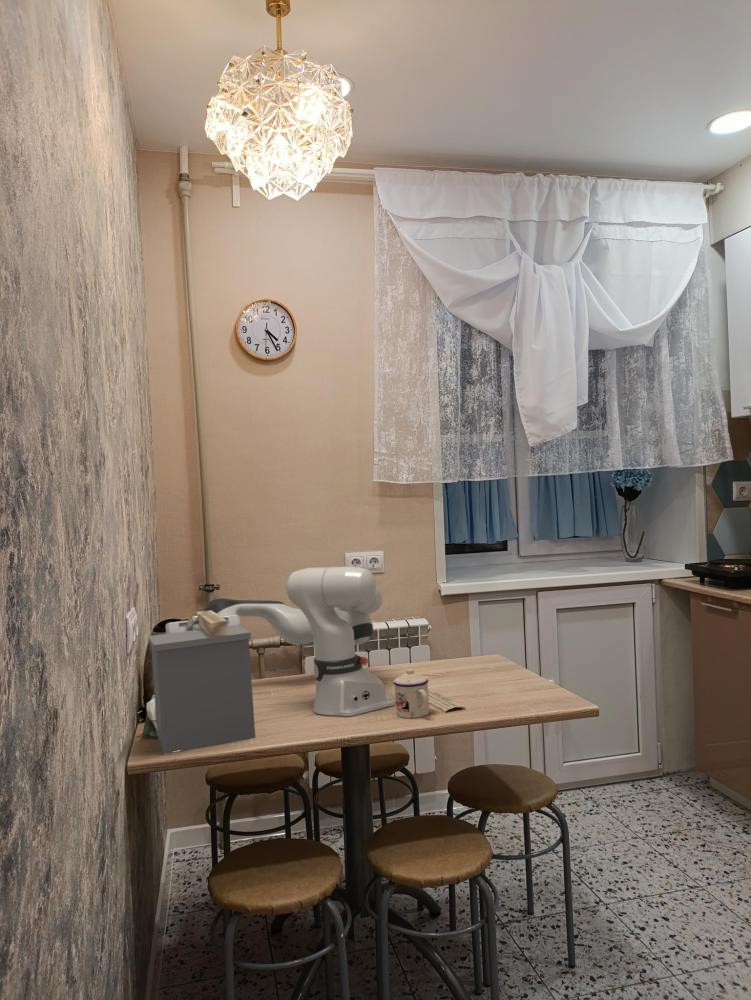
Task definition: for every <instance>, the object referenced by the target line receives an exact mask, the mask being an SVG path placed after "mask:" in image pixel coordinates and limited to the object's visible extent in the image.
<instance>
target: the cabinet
mask: <svg viewBox="0 0 751 1000" xmlns="http://www.w3.org/2000/svg"><path fill="white" fill-rule="evenodd" d="M147 639H148V643H149V645H150V649H151V662H152V676H153V677H152V678H153V688H154V689H153V690H154V691H153V692H154V707H155V719H156V721H157V723H156V735H157V737H158V738H157V737H156V738H157V741H158V744H159V747H160V749H162V750H161V752H162V755H163V754H164V755H166V754H165V753H169V752H173V751H177V750H186V751H189V750H190V749H191V750H196V749H201V748H207V747H211V746H212V747H213V746H218V745H222V744H227V743H228V742H229V743H234V742H239V741H243V740H249V739H254V738H255V739H256V728H255V727H256V726H255V713H254V702H253V701H254V700H253V698H254V697H253V685H252V684H253V683H252V670H251V656H250V655H251V653H250V640H249V639H252V635H251V631H249V630H247V629H246V628H244V627H243V626H242V625H241V626H240V625H232V626H228V635H227V636H220V637H211V636H209V635H208V634H207V633H206V632H205V631H204V630H203V629H201V630H193V631H185V632H177V633H169V634H166V633H163V634H154V635H148V638H147ZM233 741H234V742H233ZM229 743H228V744H229ZM195 748H196V749H195ZM169 754H170V753H169Z"/></svg>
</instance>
